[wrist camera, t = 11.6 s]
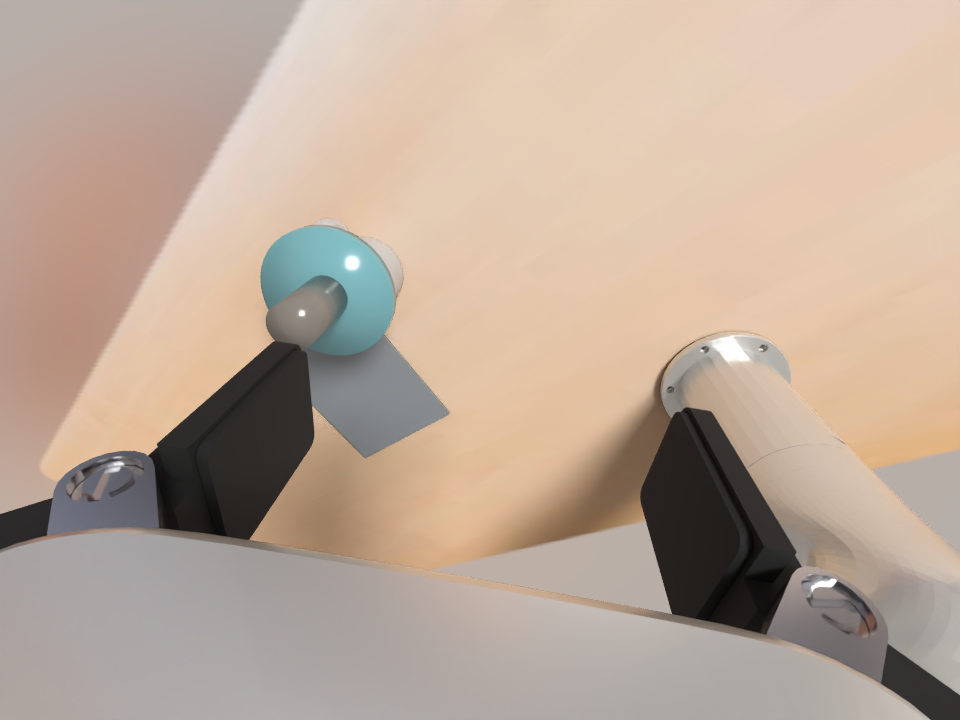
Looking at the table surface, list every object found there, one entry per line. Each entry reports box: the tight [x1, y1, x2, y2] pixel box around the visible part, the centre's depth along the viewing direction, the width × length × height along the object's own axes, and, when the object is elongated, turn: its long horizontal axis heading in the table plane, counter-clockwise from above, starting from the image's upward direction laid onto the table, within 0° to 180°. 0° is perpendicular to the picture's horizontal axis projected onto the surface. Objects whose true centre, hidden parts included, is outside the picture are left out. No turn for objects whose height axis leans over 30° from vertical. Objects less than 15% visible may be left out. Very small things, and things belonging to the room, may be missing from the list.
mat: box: [302, 334, 450, 458], centre depth 52 cm, size 16×14×1 cm
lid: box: [261, 225, 396, 355], centre depth 34 cm, size 11×11×7 cm
